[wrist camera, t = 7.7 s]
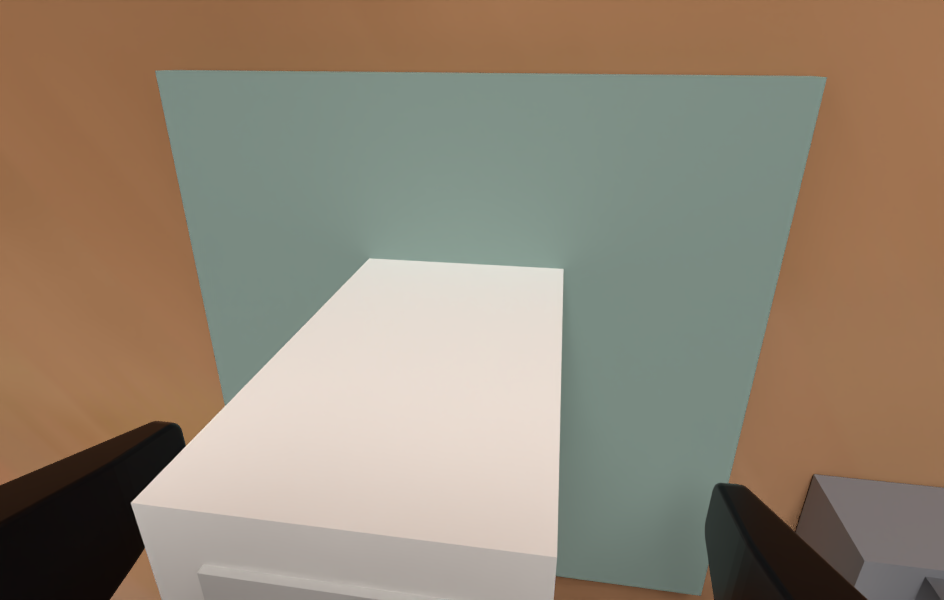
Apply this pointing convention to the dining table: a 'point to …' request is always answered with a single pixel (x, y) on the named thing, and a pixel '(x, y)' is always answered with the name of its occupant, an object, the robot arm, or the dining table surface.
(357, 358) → the charger
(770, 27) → the dining table surface
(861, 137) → the dining table surface
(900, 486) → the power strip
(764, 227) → the rubber mat
